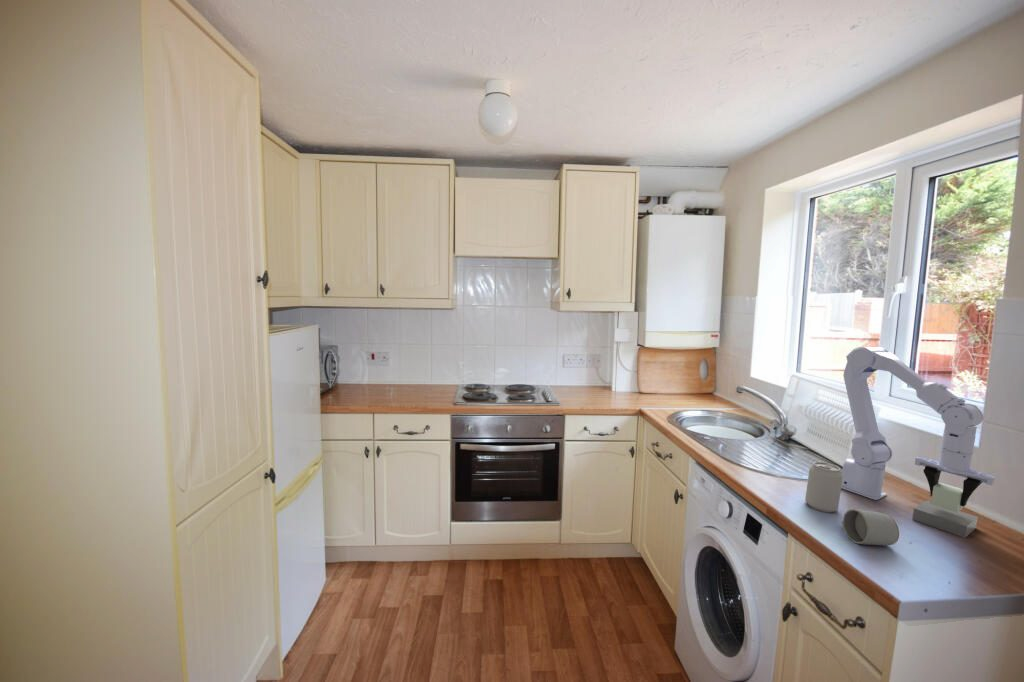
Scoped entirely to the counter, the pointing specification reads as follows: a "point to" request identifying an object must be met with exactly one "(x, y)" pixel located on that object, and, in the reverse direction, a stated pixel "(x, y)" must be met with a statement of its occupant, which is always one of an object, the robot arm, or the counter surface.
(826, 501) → the can
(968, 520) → the stone base
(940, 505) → the green block
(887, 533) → the grey cup
